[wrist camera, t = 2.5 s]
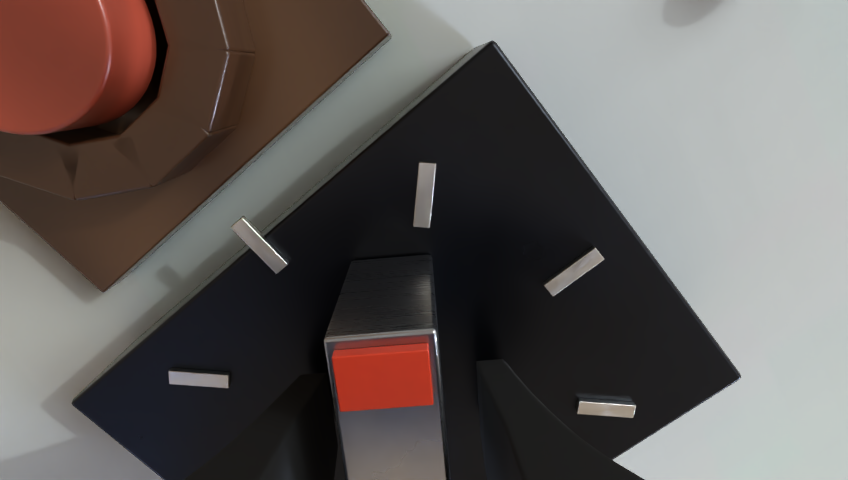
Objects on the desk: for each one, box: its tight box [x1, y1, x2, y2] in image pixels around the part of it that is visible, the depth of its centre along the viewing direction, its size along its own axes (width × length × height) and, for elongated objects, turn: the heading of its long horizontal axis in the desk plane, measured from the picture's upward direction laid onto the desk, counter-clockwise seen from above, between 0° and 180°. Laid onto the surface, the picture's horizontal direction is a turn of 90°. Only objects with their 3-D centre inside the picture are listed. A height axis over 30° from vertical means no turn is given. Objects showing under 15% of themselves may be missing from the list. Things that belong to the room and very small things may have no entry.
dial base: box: [72, 41, 741, 480], centre depth 14 cm, size 13×11×3 cm
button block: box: [0, 0, 391, 292], centre depth 12 cm, size 10×8×3 cm
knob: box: [324, 255, 450, 480], centre depth 11 cm, size 7×2×4 cm, turn 5°
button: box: [0, 0, 156, 135], centre depth 10 cm, size 4×4×2 cm
